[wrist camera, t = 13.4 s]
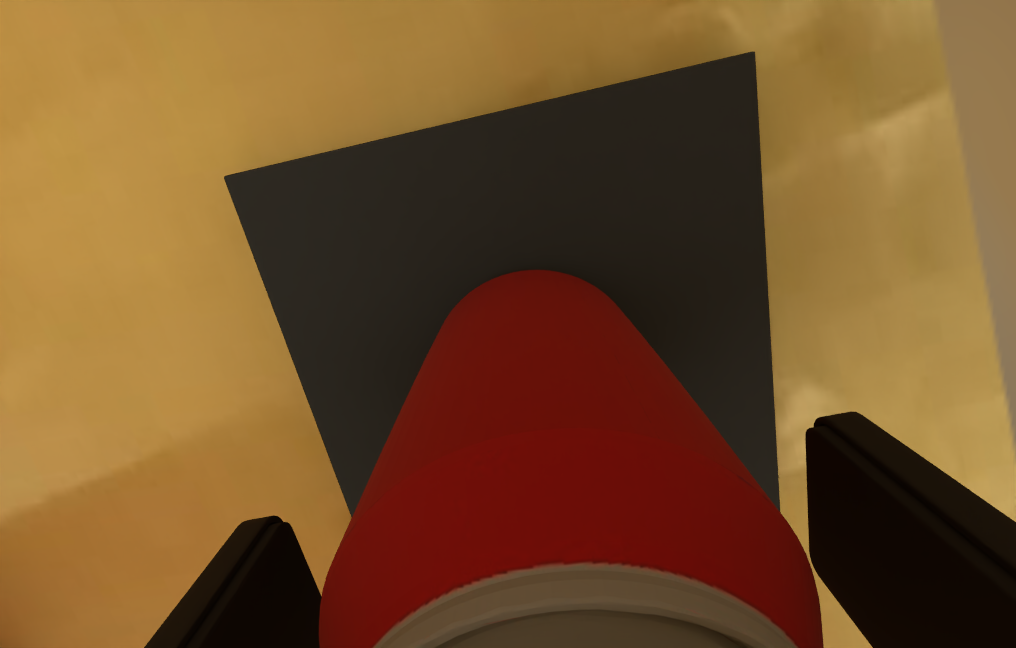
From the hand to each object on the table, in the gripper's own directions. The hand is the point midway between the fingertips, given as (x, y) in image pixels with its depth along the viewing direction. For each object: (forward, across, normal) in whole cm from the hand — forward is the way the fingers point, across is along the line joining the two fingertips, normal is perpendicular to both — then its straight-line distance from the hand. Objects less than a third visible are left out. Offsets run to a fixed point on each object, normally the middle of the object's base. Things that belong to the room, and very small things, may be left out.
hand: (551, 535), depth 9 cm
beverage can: (+8, 0, 0) cm, 8 cm away
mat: (+9, 0, 0) cm, 9 cm away
